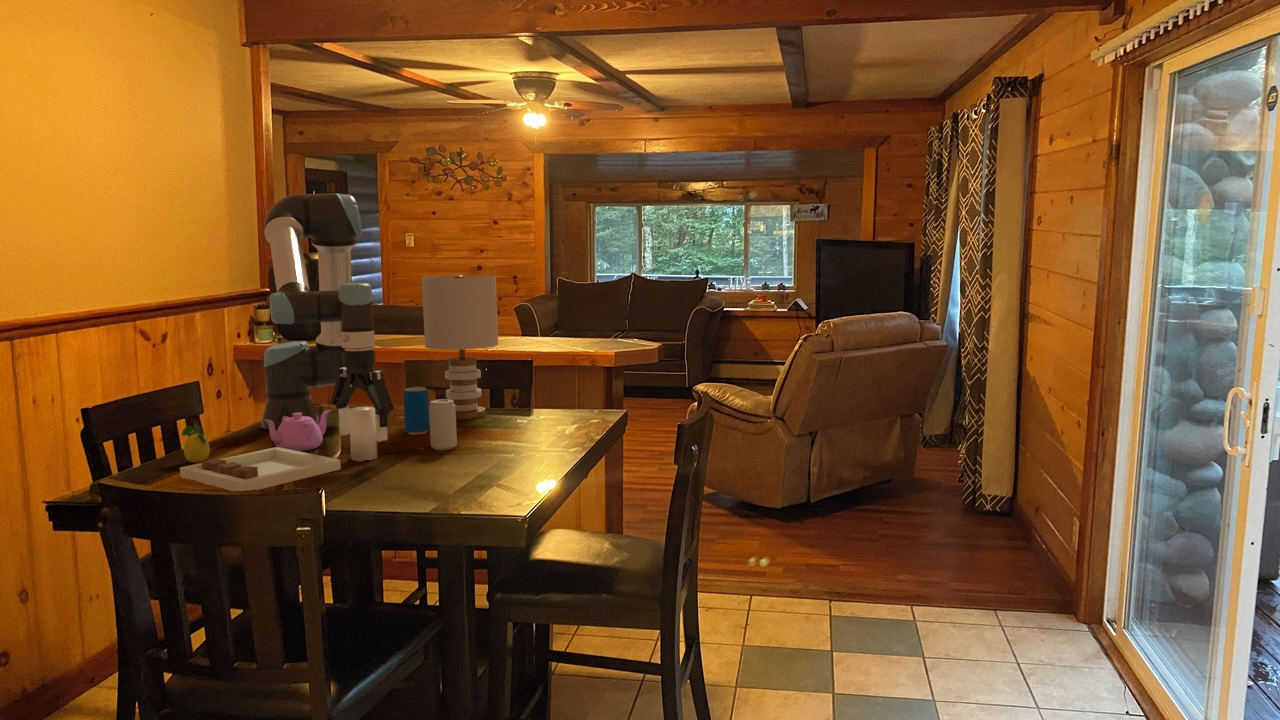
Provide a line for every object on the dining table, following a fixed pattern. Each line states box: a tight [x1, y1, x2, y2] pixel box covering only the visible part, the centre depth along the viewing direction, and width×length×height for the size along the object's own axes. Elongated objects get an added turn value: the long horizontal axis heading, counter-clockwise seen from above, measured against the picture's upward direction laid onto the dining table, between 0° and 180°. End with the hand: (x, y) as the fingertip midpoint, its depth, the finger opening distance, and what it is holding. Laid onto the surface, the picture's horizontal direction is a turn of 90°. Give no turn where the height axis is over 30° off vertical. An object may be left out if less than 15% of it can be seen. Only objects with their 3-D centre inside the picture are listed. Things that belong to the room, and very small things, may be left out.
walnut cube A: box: [200, 458, 226, 473], centre depth 211 cm, size 4×4×4 cm
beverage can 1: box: [403, 386, 430, 436], centre depth 258 cm, size 6×6×12 cm
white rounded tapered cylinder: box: [349, 406, 378, 462], centre depth 230 cm, size 6×6×12 cm
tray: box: [179, 446, 342, 492], centre depth 214 cm, size 24×24×3 cm
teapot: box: [263, 409, 331, 452], centre depth 243 cm, size 12×14×9 cm
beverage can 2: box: [429, 398, 458, 451], centre depth 239 cm, size 6×6×12 cm
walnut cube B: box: [217, 462, 241, 476], centre depth 208 cm, size 4×4×4 cm
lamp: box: [421, 274, 499, 421], centre depth 280 cm, size 21×21×41 cm
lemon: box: [181, 423, 211, 464], centre depth 225 cm, size 7×6×10 cm
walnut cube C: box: [232, 466, 258, 480], centre depth 204 cm, size 4×4×4 cm
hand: (363, 437), depth 229 cm, fingers open, 13 cm apart
